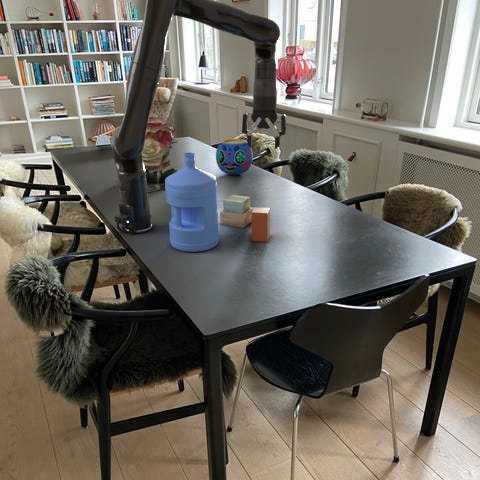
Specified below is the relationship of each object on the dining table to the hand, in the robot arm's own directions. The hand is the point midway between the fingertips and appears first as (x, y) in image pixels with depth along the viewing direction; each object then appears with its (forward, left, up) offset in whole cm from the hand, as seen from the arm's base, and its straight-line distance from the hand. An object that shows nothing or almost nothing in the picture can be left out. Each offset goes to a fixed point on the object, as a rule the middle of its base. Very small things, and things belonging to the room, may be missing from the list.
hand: (263, 148), depth 161 cm
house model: (+54, +139, -25) cm, 152 cm away
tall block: (-14, -10, -25) cm, 30 cm away
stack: (-7, +6, -25) cm, 27 cm away
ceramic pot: (+43, +52, -25) cm, 73 cm away
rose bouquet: (+6, +68, -25) cm, 73 cm away
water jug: (-31, +3, -25) cm, 40 cm away
